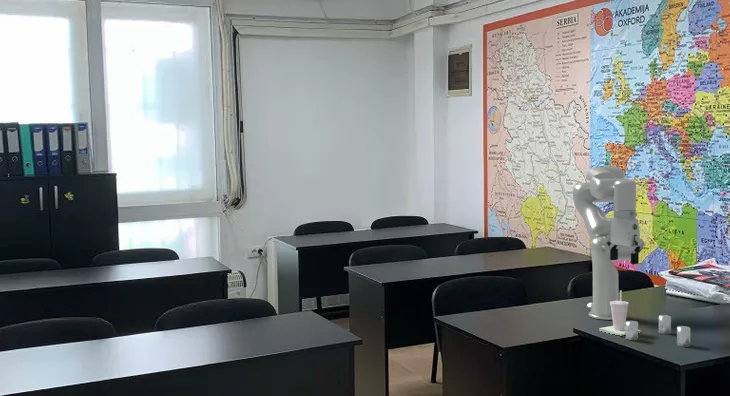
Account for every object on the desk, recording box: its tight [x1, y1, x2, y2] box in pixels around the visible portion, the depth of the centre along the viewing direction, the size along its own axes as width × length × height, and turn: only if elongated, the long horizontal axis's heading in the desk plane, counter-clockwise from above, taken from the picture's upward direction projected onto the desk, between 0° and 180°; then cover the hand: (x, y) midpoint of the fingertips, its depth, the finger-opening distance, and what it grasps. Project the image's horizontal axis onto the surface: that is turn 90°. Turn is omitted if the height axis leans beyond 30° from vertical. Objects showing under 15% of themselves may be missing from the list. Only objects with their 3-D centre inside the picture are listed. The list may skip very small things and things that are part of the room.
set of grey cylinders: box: [625, 314, 691, 348], centre depth 242 cm, size 18×20×6 cm
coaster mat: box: [598, 325, 642, 336], centre depth 255 cm, size 10×10×1 cm
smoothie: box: [610, 290, 630, 330], centre depth 255 cm, size 6×6×14 cm
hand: (624, 261), depth 256 cm, fingers open, 9 cm apart
